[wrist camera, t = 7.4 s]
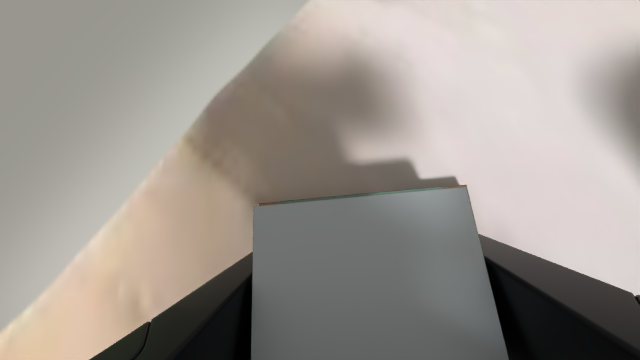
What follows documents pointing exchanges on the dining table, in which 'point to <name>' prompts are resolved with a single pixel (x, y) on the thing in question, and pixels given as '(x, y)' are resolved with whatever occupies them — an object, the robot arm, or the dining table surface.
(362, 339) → the block
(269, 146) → the dining table surface
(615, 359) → the robot arm
